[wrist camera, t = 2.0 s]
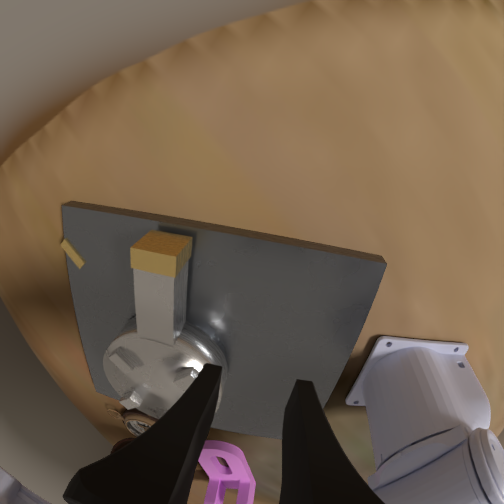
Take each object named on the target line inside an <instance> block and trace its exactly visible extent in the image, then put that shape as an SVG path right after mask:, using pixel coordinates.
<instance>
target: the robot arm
mask: <svg viewBox="0 0 504 504" xmlns="http://www.w3.org/2000/svg"><path fill="white" fill-rule="evenodd" d="M388 342H390V343H389V344H387V343H388ZM467 350H468V345H467V344H466V343H455V342H441V341H429V340H418V339H408V338H399V337H389V336H381V337H379V338H378V339H377V341H376V343H375V345H374V347H373V349H372V351H371V353H370V355H369V357H368V359H367V361H366V363H365V365H364V366H363V368H362V370H361V372H360V374H359V376H358V378H357V380H356V381H355V383H354V385H353V387H352V389H351V390H350V392H349V394H348V396H347V397H346V399H345V402H346V404H347V405H355V406H366V411H367V416H368V422H369V428H370V433H371V439H372V446H373V452H374V459H375V466H376V473H374V474H373V475H371V476H369V477H368V484H367V483H366V482H365V481H364V480H363V479H362V477H361V476H360V475H359V473H358V472H357V471H356V469H355V468H354V466H353V465H352V464H351V462H350V461H349V459H348V458H347V456H346V454H345V453H344V451H343V449H342V448H341V446H340V444H339V442H338V440H337V438H336V437H335V435H334V433H333V431H332V429H331V426H330V424H329V422H328V420H327V418H326V415H325V413H324V411H323V408H322V406H321V403H320V400H319V398H318V395H317V392H316V389H315V386H314V383H313V382H312V381H307V380H300V379H296V382H295V385H294V387H293V390H292V392H291V395H290V397H289V400H288V402H287V405H286V407H285V411H284V420H283V429H282V486H281V494H280V501H279V504H504V450H503V448H502V446H501V444H500V442H499V440H498V439H497V437H496V436H495V435H494V433H493V432H492V431H491V430H489V429H488V428H489V425H490V417H491V411H490V404H489V401H488V398H487V396H486V394H485V392H484V390H483V388H482V386H481V384H480V382H479V381H478V379H477V377H476V375H475V373H474V371H473V370H472V368H471V366H470V364H469V363H468V361H467V359H466V357H465V356H464V355H465V354H466V352H467ZM222 367H223V366H219V365H214V364H210V363H206V364H204V365H203V367H202V369H201V371H200V372H199V374H198V375H197V377H196V378H195V380H194V381H193V382H192V384H191V385H190V386H189V387H188V389H187V390H186V391H185V392H184V393H183V395H182V396H181V397H180V398H179V399H178V401H177V402H176V403H175V404H174V405H173V406H172V407H171V408H170V409H169V410H168V411H167V412H166V413H165V414H164V415H163V416H162V417H161V418H160V419H159V420H158V421H157V422H155V423H154V424H153V425H152V426H151V427H150V428H148V429H147V430H146V431H145V432H143V433H142V434H141V435H139V436H138V437H137V438H135V439H134V440H133V441H131V442H130V443H128V444H127V445H125V446H124V447H122V448H120V449H119V450H117V451H115V452H114V453H112V454H110V455H108V456H107V457H105V458H103V459H101V460H99V461H97V462H94V463H92V464H90V465H88V466H86V467H84V468H81V469H79V471H78V472H77V473H76V474H75V475H74V477H73V478H72V479H71V481H70V482H69V484H68V486H67V489H66V490H65V492H64V494H63V498H64V500H65V501H66V502H67V503H69V504H187V501H188V496H189V492H190V488H191V484H192V480H193V476H194V472H195V469H196V466H197V463H198V460H199V457H200V454H201V452H202V449H203V446H204V444H205V441H206V438H207V435H208V433H209V430H210V427H211V424H212V422H213V418H214V414H215V410H216V406H217V402H218V397H219V390H220V382H221V374H222ZM368 485H369V486H368ZM0 504H51V503H49V502H47V501H46V500H44V499H42V498H41V497H39V496H38V495H36V494H35V493H33V492H32V491H30V490H29V489H27V488H26V487H24V486H23V485H22V484H21V483H20V482H19V481H18V480H17V479H15V478H14V477H13V476H12V475H11V474H9V473H8V472H6V471H5V470H4V469H3V468H1V467H0Z"/></svg>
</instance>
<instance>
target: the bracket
mask: <svg viewBox="0 0 504 504" xmlns="http://www.w3.org/2000/svg"><path fill="white" fill-rule="evenodd" d="M216 456H218V457H222V458H224V459H225V460H226V462H227V463H228V465H229V467H225V466H222V465H221V464H220V463H219V461H218V460H217V458H216ZM198 461H199V463H200V464H201V466H202V467H203V469H204V470H205V472H206V473H207V474H208V476H209V484H208V488H207V492H206V496H205V500H204V504H223V500H224V495H225V490H226V488H232V489H239V490H238V496H237V502H236V504H253V500H254V492H255V485H256V482H255V480H254V477H253V475H252V473H251V471H250V468H249V466H248V463H247V461H246V459H245V456H244V454H243V452H242V450H241V449H239V448H238V447H236V446H235V445H232V444H230V443H227V442H223V441H216V440H206V441H205V444H204V446H203V449H202V452H201V454H200V457H199V460H198Z"/></svg>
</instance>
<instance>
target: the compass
mask: <svg viewBox="0 0 504 504" xmlns="http://www.w3.org/2000/svg"><path fill="white" fill-rule="evenodd" d="M109 410H112V411H115V410H113V409H108V413H109ZM115 412H116V413H118V412H117V411H115ZM109 414H110V413H109ZM110 415H111V414H110ZM111 416H112V415H111ZM112 417H114V416H112ZM114 418H116V417H114ZM116 419H122V420H123V423H124V424H125V426H126V427H127V429H128V430H129V431H130V432H131V433H132V434H133V435H135V436H136V437H138V436H139V435H141V434H142V433H143V432H145V431H146V430H147V429H148V428H150V427H151V426H152V425H153V424H154V423H155V422H157V421H158V420H159V419H157V418H155V417H152V416H150V415H148V414H146V413H144V412H142V411H140V410H138V409H129V410H126V411H125V412H124V414H123V416H122V415H120V413H118V415H117V418H116ZM134 439H135V438H126V439H123V440H121V441H119V442H117V443H116V444H115V445H114V446H113V449H112V451H111V454H112V453H114V452H115V451H117V450H119V449H120V448H122V447H124V446H125V445H127V444H128V443H130V442H131V441H133V440H134Z"/></svg>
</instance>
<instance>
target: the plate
mask: <svg viewBox="0 0 504 504" xmlns="http://www.w3.org/2000/svg"><path fill="white" fill-rule="evenodd" d="M62 217H63V230H64V241H63V242H62V244H61V247H62V248H63V249H64V250H65V252H66V259H67V267H68V274H69V280H70V287H71V292H72V298H73V303H74V309H75V314H76V318H77V323H78V327H79V332H80V336H81V340H82V344H83V348H84V352H85V356H86V359H87V363H88V366H89V370H90V373H91V376H92V380H93V383H94V386H95V389H96V392H98V393H101V394H103V395H106V396H109V397H111V398H114V399H116V400H119V401H120V399H121V396H120V395H119V394H118V393H117V392H116V391H115V389H114V388H113V387H112V385H111V384H110V382H109V381H108V379H107V377H106V374H105V371H104V367H103V357H104V354H105V352H106V350H107V348H108V347H109V346H110V344H111V343H112V342H113V340H114V339H115V337H116V336H117V335H118V333H119V332H120V331H121V329H122V328H123V327H124V325H125V324H126V323H127V322H128V321H129V320H130V319H132V318H134V317H136V309H135V294H134V273H133V268H131V255H130V247H131V246H133V245H134V244H135V243H136V242H137V241H139V240H140V239H141V238H142V237H143V236H145V235H146V234H147V233H148V232H149V231H151V230H156V231H162V232H167V233H173V234H178V235H184V236H189V237H192V250H191V257H190V258H189V263H188V280H187V299H186V321H188V322H190V323H192V324H194V325H195V326H197V327H198V328H200V329H201V330H203V331H204V332H205V333H207V334H208V335H209V336H210V337H211V338H212V339H213V340H214V341H215V342H216V343H217V344H218V346H219V347H220V349H221V350H222V352H223V354H224V356H225V358H226V361H227V366H228V374H227V378H226V382H225V386H224V390H223V394H222V398H221V402H220V406H219V409H218V410H217V412H216V413H215V414H214V418H213V422H212V424H211V427H212V428H216V429H221V430H226V431H231V432H237V433H242V434H248V435H254V436H261V437H268V438H275V439H282V429H283V420H284V411H285V407H286V405H287V402H288V400H289V397H290V395H291V392H292V390H293V387H294V385H295V382H296V379H300V380H307V381H312V382H313V383H314V386H315V389H316V392H317V395H318V398H319V400H320V403H321V406H322V408H324V406H325V404H326V403H327V401H328V399H329V397H330V395H331V393H332V391H333V389H334V387H335V385H336V383H337V381H338V379H339V377H340V375H341V373H342V371H343V369H344V367H345V365H346V363H347V361H348V359H349V357H350V355H351V352H352V350H353V348H354V346H355V344H356V341H357V339H358V337H359V335H360V332H361V330H362V328H363V325H364V323H365V321H366V318H367V316H368V313H369V311H370V308H371V306H372V303H373V301H374V298H375V296H376V293H377V291H378V288H379V285H380V282H381V280H382V277H383V274H384V271H385V269H386V266H387V263H386V262H385V260H384V259H383V257H382V256H379V255H374V254H370V253H365V252H360V251H355V250H350V249H345V248H340V247H335V246H330V245H324V244H319V243H314V242H309V241H304V240H299V239H293V238H288V237H283V236H277V235H272V234H267V233H261V232H256V231H250V230H245V229H239V228H234V227H228V226H223V225H217V224H211V223H205V222H200V221H194V220H188V219H182V218H176V217H170V216H164V215H158V214H152V213H146V212H140V211H134V210H127V209H121V208H115V207H108V206H102V205H95V204H89V203H82V202H76V201H70V202H68V203H66V204H64V205H62Z"/></svg>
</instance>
